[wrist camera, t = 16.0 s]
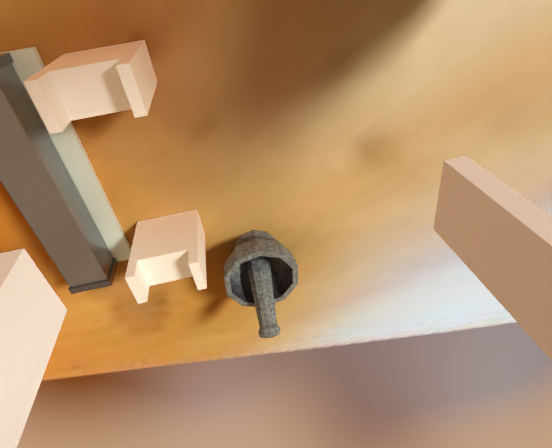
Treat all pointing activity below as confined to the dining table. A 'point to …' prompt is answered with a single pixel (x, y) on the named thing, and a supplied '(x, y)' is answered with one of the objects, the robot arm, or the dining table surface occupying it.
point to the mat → (77, 164)
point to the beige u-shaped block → (167, 252)
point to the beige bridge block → (94, 84)
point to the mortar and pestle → (260, 276)
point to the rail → (48, 190)
